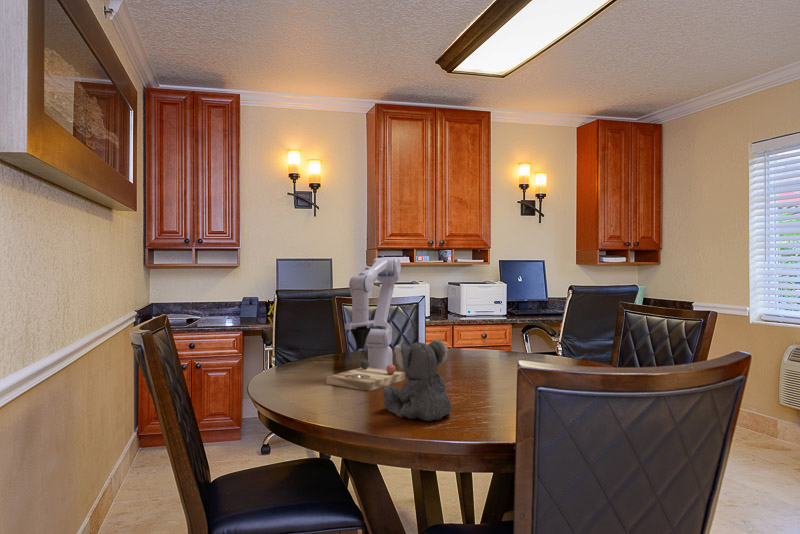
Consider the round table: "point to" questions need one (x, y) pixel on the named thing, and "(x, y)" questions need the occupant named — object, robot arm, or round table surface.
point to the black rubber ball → (364, 364)
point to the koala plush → (419, 383)
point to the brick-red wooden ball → (390, 369)
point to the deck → (365, 378)
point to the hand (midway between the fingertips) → (360, 348)
